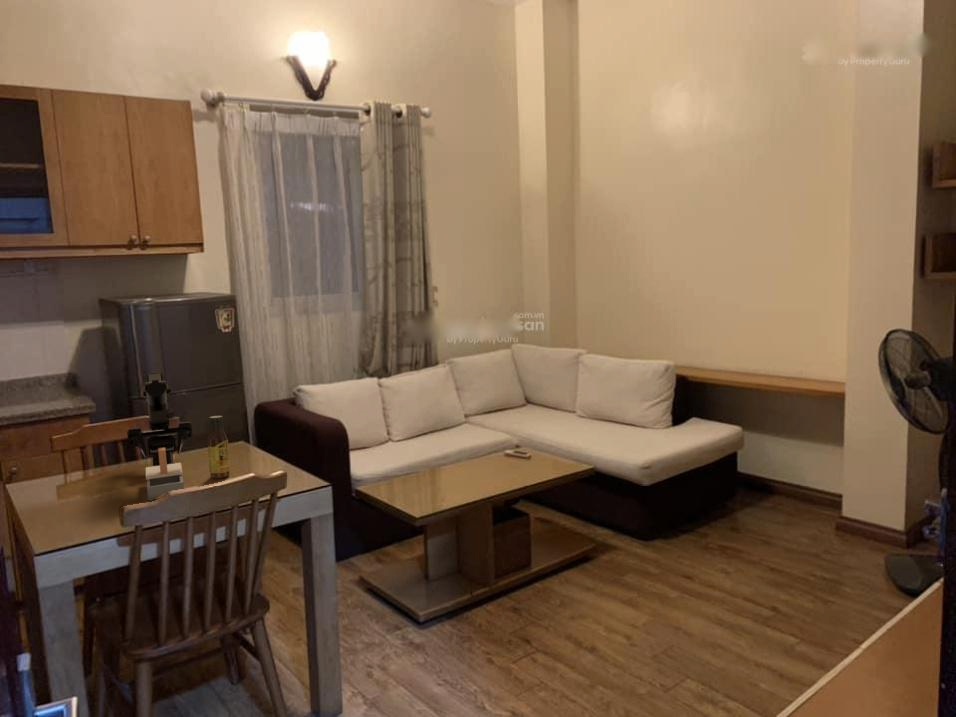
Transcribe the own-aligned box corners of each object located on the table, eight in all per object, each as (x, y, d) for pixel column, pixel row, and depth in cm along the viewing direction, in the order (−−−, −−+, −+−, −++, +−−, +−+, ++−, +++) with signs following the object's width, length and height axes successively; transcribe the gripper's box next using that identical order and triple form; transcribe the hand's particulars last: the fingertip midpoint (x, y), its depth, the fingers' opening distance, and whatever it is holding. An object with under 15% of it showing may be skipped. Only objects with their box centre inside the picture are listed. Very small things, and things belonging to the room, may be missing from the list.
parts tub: (148, 489, 222) (146, 477, 222) (182, 484, 227) (181, 472, 226) (148, 500, 212) (146, 487, 211) (184, 494, 216) (183, 482, 215)
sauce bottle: (223, 479, 230) (218, 419, 228) (206, 479, 232) (200, 419, 229) (234, 473, 237) (229, 414, 234) (217, 473, 238) (212, 414, 235)
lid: (146, 469, 230) (143, 444, 229) (180, 464, 234) (178, 440, 233) (146, 479, 218) (143, 453, 217) (182, 474, 223) (180, 448, 222)
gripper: (124, 403, 222) (127, 446, 213) (188, 396, 229) (194, 437, 221) (127, 423, 230) (130, 465, 222) (189, 416, 238) (194, 456, 229)
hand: (162, 455), depth 223 cm, fingers open, 9 cm apart
